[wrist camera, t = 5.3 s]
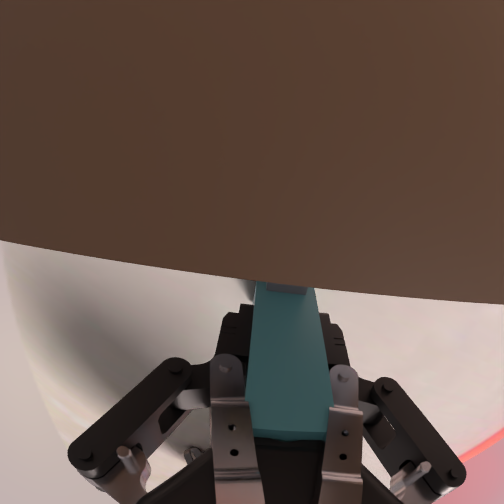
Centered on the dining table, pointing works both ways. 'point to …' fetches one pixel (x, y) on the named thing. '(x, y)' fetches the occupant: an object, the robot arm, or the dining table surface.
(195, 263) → the small wooden table
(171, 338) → the dining table surface
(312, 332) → the slider
